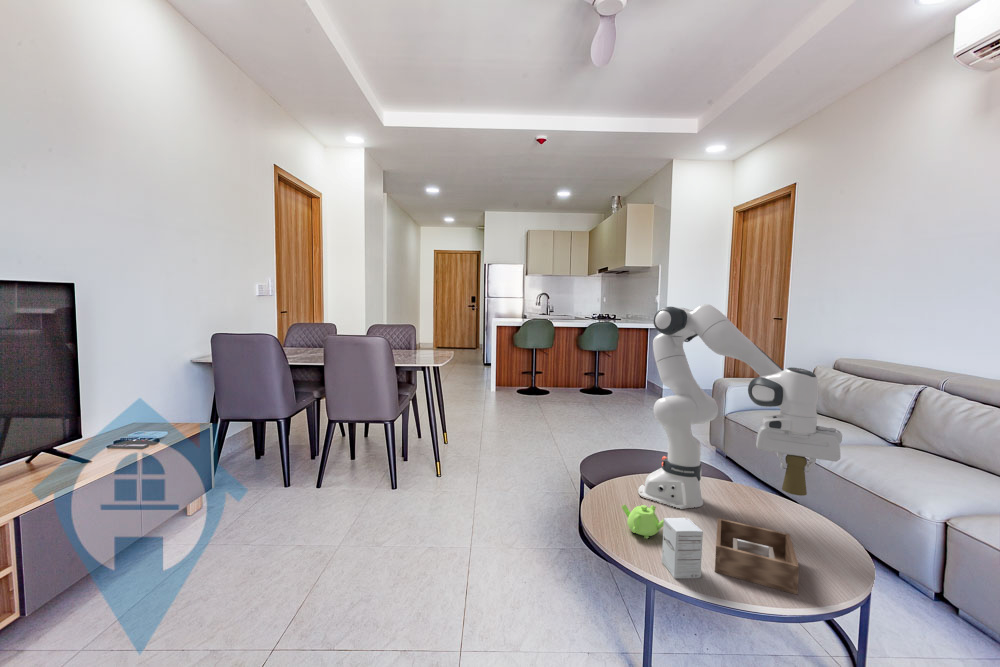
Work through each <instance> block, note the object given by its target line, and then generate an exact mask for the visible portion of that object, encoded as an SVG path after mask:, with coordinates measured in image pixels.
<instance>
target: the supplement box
mask: <svg viewBox="0 0 1000 667" xmlns="http://www.w3.org/2000/svg"><path fill="white" fill-rule="evenodd" d="M663 519H664V526H663V527H662V528H663V529H662V547H661V563H662V564H663V566H664V567H665V568H666V569H667V570H668V572H669V573H670V574H671V576H672V577H673V578H674V579H700V578H701V576H702V575H701V574H702V571H701V570H702V558H703V556H702V554H703V537H704V531H703V530H702V529H701V528H700V527H699V526H698V525H696V523H694V522H693V521H692V520H691V519H690V518H689V517H664V518H663Z"/></svg>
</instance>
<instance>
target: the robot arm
mask: <svg viewBox="0 0 1000 667" xmlns="http://www.w3.org/2000/svg"><path fill="white" fill-rule="evenodd" d="M653 326H654V328H655V330H656V331H658V332H659V334H656V335H655V337H654V338H653V341H652V349H653V356H654V360H655V364H656V368H657V371H658V374H659V379H660V381H661V383H662V385H664V386H665V387H667V388H669V389H670V390H671V391H672V392H673V394H674V395H673V394H672V395H667V396H664V397H661V398H659V399H657V400H656V401H655V403H654V405H653V411H652V412H653V416H654V417H655V420H656V421H657V422H658V423H659V424H660V425H661V426H662V427H663V428H664V431H665V434H666V438H667V439H666V440H667V456H665V455H663V456H662V458H661V467H660V468H658V469H657V470H654V471H652V472H650V473H649V474H648V475H647V476H646V478H645V482H644V484H645V486H644V485H643V484H642V485H640V486H639V487H638V492H637V494H638V493H639V494H640V495H641V496H643V497H646V498H649V499H652V500H654V501H657V502H661V503H664V504H667V505H670V506H669V507H671V506H673V507H672V508H674V507H676V508H675V509H677V508H680V509H679V510H685V509H690V508H691V509H693V508H694V507H695V508H699V507H702V506H703V505H704V499H703V496H702V495H703V494H702V489H701V478H702V464H701V450H702V448H701V447H702V445H701V442H700V440H699V439H698V438H697V437H695V436H694V435H693V432H692V426H693V425H702V424H706V423H710V422H711V421H713V420H715V419H716V418H717V416H718V414H719V406H718V403H717V401H716V399H715V398H713V397H712V396H710V395H709V394H707V393H706V392H705V391H704V389H702V388H701V387H700V386H701V385H700V384H698V383H697V380H696V379H695V377H694V375H693V374H692V371H691V367H690V365H689V361H688V358H687V356H686V353H685V349H684V343H690V342H691V341H692V340H693V339H695V338H696V337H699V338H700V339H701V341H702V342H703V343H704V345H706V346H707V347H708V349H709V350H711V351H712V352H713V353H715V354H716V355H720V356H724V357H727V358H732V359H736V360H738V361H741V362H743V363H745V364H746V365H748V366H749V367H750V368H751V369H752V370H753V371H754V372H756V374H757V375H759V376H758V377H757V376H756V377H755V378H753V379H752V380H751V381H749V383H748V386H747V393H748V396H749V398H750V400H751V401H752V402H753V404H755V405H757V406H760V407H764V408H771V407H772V408H774V407H777V408H778V409H780V414H774V415H768V416H764V417H763V418H762V425H761V426H760V427H759V429H758V431H757V435H756V440H755V441H756V442H755V446H756V449H758V450H759V451H763V452H770V453H775V454H776V455H777V458H778V459H779V462H780V468H781V469H784V470H786V469H787V463H786V460H785V461H784V460H783V457H784V455H787V454H788V455H795V456H801V457H805V458H808V460H809V462H807V465H806V466H805V467H804V472H805V473H808V474H810V473H811V469H812V467H813V466H814V465H815V464H816V462H817V460H823V461H828V462H835V463H836V462H838V461H840V460H841V445H840V444H842V442H843V434H842V432H841V431H840V430H837V429H836V428H835V427H825V426H820V425H817V424H818V412H817V406H818V403H819V394H820V393H819V382H818V381H819V380H818V377H817V375H816V374H815V373H814V372H812V371H810V370H807V369H805V368H797V367H787V368H785V369H783V368H782V367H780V365H778V363H776V362H775V361H774V360H773V359H772V358H771V357H770V355H768V354H766V353H765V352H764V351H763V350H762V349H761V348H760V347H758V346H759V345H757V344H755V343H754V342H753V341H752V340H750V339H749V338H748V336H746V335H744V334H743V333H742V331H740V329H739V328H738V327H737V326H735V325H734V323H733V322H732V321H731V320H730V319H729V318H728V317H727V316H726V315H725V314H723V313H722V311H720V310H718V309H717V308H716V307H715V306H713V305H711V304H706V303H705V304H700V305H698V306H696V307H695V308H693V310H692V309H689V308H684V307H676V306H664V307H661V308H659V309H658V310H657V311H656V312H655V314H654V316H653ZM640 492H642V493H640ZM654 501H653V502H654ZM657 502H656V503H657ZM661 503H660V504H661ZM664 504H663V505H664ZM667 505H666V506H667Z"/></svg>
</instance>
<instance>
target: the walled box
mask: <svg viewBox="0 0 1000 667" xmlns="http://www.w3.org/2000/svg"><path fill="white" fill-rule="evenodd" d="M716 523H717V525H716V539H715V540H716V541H715V558H714V559H715V561H714V572H715V573H717V574H722V575H725V576H727V577H733V578H737V579H740V580H743V581H746V582H750V583H753V584H758V585H760V586H765V587H767V588H772V589H775V590H778V589H779V590H780V591H782V590H783V591H782V592H785V591H786V593H790V594H794V595H796V594H797V595H798V594H799V593H798V590H799V573H800V572H799V571H800V570H799V569H800V566H799V563H798V559H797V554H796V552H795V549H794V545H793V541H792V537H791V534H790V533H787V532H783V531H778V530H772V529H769V528H765V527H759V526H755V525H750V524H746V523H742V522H738V521H733V520H728V519H723V518H720V517H719V518H718V517H717V522H716ZM779 590H778V591H779Z"/></svg>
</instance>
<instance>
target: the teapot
mask: <svg viewBox="0 0 1000 667" xmlns="http://www.w3.org/2000/svg"><path fill="white" fill-rule="evenodd" d="M620 507H621V509H622V510H623V512H624V514H625V516H626V517H627V520H626V522H627V523H626V524H627V526H628V527H629V530H631V531H632V532H633V533H636V535H640V536H642V537H643V536H644V537H643V539H645V538H649V539H650V537H653V536H654V535H656V534H657V533H659V531H660V530H661V529H662V528H663V526H664V518H663V519H662V520H660V521H659V518H658V516H657V514H656V508H657V507H656V506H655V505H652V504H651V505H650V507H648V506H647V505H646V504H641V505H637V506H634V508H633V509H632V510H631V511H630V509H629V508H628V506H627V505H626V504H623V505H622V506H620ZM633 533H632V534H633Z"/></svg>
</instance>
